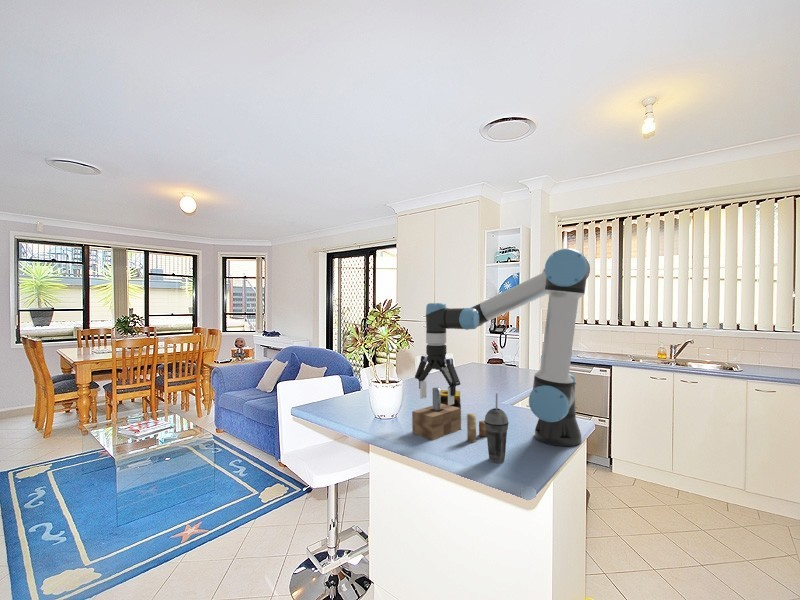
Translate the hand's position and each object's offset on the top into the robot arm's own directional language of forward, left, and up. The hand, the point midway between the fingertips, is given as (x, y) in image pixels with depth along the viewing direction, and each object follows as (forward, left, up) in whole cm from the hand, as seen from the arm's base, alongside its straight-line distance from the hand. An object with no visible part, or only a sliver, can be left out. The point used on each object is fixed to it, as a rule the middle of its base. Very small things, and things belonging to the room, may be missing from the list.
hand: (436, 401), depth 145 cm
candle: (+9, -18, -12) cm, 23 cm away
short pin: (-15, -8, -11) cm, 20 cm away
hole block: (0, 0, -11) cm, 11 cm away
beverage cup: (-30, +7, -11) cm, 33 cm away
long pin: (0, 0, -11) cm, 11 cm away
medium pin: (-15, -1, -11) cm, 19 cm away
